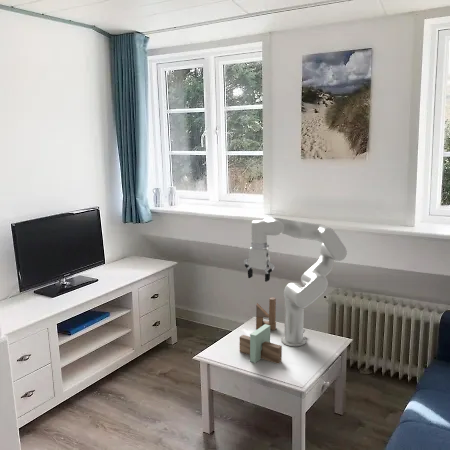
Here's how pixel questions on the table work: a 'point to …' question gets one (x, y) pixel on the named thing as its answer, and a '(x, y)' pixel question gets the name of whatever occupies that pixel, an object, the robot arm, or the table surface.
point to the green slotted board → (258, 342)
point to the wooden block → (266, 315)
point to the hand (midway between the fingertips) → (258, 279)
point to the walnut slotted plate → (263, 349)
